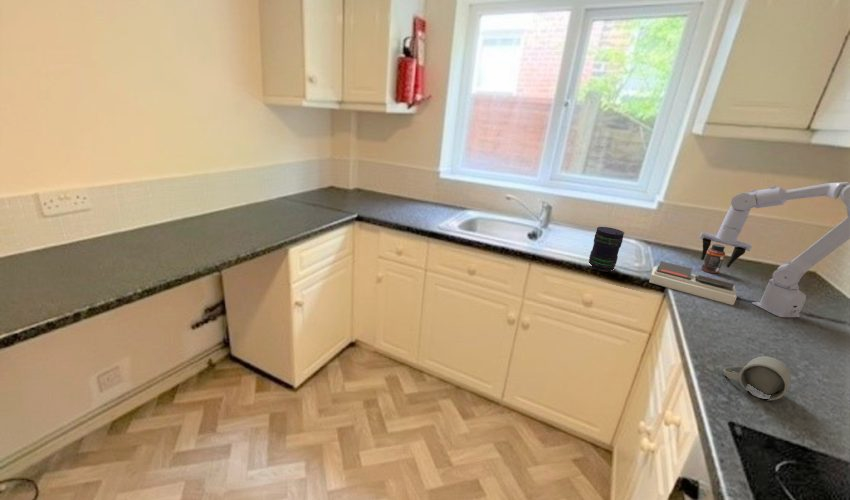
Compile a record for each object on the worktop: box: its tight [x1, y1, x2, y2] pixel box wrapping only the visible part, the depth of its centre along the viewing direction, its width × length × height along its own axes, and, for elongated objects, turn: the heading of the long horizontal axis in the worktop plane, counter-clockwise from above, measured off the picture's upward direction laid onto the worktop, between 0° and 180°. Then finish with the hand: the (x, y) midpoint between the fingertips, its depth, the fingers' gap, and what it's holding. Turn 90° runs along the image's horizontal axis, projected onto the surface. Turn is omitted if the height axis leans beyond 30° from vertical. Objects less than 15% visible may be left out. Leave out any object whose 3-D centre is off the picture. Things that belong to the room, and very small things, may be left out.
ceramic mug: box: [722, 355, 791, 401], centre depth 84 cm, size 11×8×8 cm
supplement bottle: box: [701, 243, 726, 275], centre depth 155 cm, size 6×6×11 cm
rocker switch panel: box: [648, 264, 737, 306], centre depth 137 cm, size 25×12×4 cm, turn 55°
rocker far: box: [657, 260, 693, 280], centre depth 139 cm, size 10×7×1 cm
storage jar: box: [588, 226, 625, 272], centre depth 148 cm, size 10×10×15 cm
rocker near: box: [696, 274, 735, 287], centre depth 133 cm, size 10×7×1 cm
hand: (714, 262), depth 136 cm, fingers open, 7 cm apart
